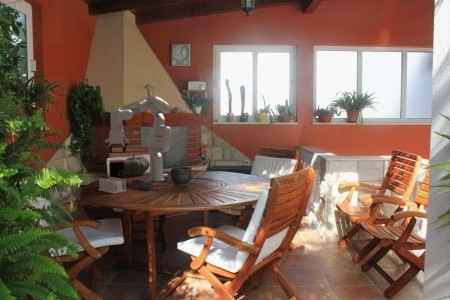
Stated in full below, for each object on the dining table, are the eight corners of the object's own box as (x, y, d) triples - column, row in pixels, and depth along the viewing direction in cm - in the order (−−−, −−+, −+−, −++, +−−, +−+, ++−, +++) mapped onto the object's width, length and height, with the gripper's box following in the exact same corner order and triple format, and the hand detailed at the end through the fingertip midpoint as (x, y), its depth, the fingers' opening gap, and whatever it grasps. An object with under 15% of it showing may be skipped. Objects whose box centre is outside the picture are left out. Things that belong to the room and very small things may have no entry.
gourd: (152, 168, 360) (149, 149, 355) (149, 178, 336) (145, 158, 331) (124, 172, 359) (120, 153, 354) (118, 181, 335) (114, 161, 330)
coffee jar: (120, 186, 294) (119, 161, 292) (107, 185, 296) (106, 161, 294) (127, 183, 305) (126, 159, 303) (114, 183, 307) (113, 159, 305)
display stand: (111, 187, 288) (111, 176, 287) (126, 191, 276) (126, 179, 275) (98, 190, 280) (98, 178, 279) (113, 193, 268) (113, 181, 268)
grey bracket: (140, 187, 290) (139, 178, 289) (152, 189, 281) (152, 181, 280) (131, 188, 285) (131, 180, 284) (144, 191, 275) (143, 182, 275)
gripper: (130, 127, 282) (131, 151, 284) (107, 127, 285) (108, 151, 286) (126, 127, 274) (127, 153, 276) (102, 127, 277) (103, 152, 279)
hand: (117, 152), depth 281 cm, fingers open, 9 cm apart
